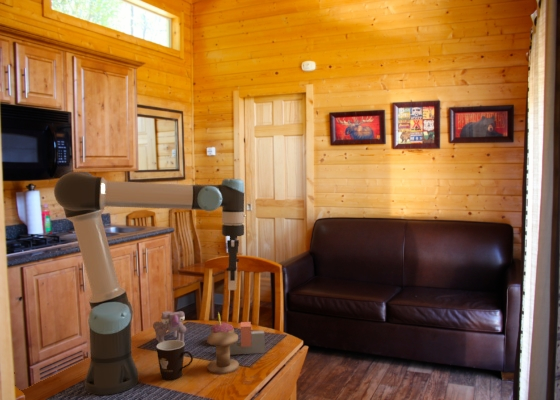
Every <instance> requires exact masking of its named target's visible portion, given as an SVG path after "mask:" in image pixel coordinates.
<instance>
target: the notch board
mask: <svg viewBox="0 0 560 400" xmlns="http://www.w3.org/2000/svg"><path fill="white" fill-rule="evenodd" d="M231 333H235V334H237V335H238V331H234V332H231ZM265 341H266V340H265V331H264V330H253V331H252V330H251V346H249V347H241V342H238V341H237V342H236V343H234V344H232V345H230V356H231V355H243V354H245V355H246V354H248V355H249V354H252V355H253V354H266V353H265V352H266V350H265V349H266V348H265V347H266V346H265V345H266V344H265Z"/></svg>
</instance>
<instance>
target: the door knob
mask: <svg viewBox="0 0 560 400" xmlns="http://www.w3.org/2000/svg"><path fill="white" fill-rule="evenodd" d="M236 342H237V343H238V342H239V335H238V333H237V334H235V333H231V332H219V333H214V334H211V333H210V334H209V335H207V337H206V343H207V344H208V345H211V346H214V347H215V358H216V359H213V360H211V361H209V362H208V363H207V370H208V372H210V373H212V374H217V375H226V374H231V373H234V372H235V371H237V370H238V369H239V368H240V363H239V361H238V360H236V359H233V358H231V355H230V345H232V344H234V343H236Z"/></svg>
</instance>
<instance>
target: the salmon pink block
mask: <svg viewBox="0 0 560 400" xmlns="http://www.w3.org/2000/svg"><path fill="white" fill-rule="evenodd" d="M251 323H252V322H251V321H241V322H240V343H241V347H249V346H251V331H252V324H251Z"/></svg>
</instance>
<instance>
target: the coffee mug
mask: <svg viewBox="0 0 560 400" xmlns="http://www.w3.org/2000/svg"><path fill="white" fill-rule="evenodd" d="M185 345H186V344H185V341H184V342H183V341H180V340H177V339H170V340H165V341H163V342H161V343H157V344H156V353H157V360H158V364H159V365H158V367H159V373H160V378H161V380H162V381H168V382H171V381H177V380H179V379H181V378H182V376H183V369H185V368H187V367H188V366H190V365H191V364H192V363H193V359H194V357H193V353H191V352H190V351H188V350H187V351H185ZM186 354H187V355H189V357H190V361H189V362H188V363H187V364H186V365H184V357H185V355H186Z"/></svg>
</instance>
